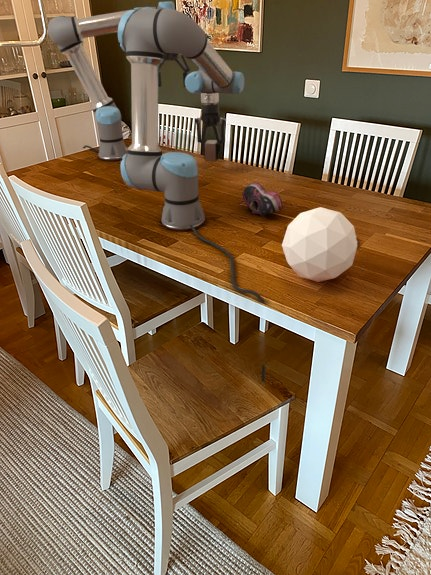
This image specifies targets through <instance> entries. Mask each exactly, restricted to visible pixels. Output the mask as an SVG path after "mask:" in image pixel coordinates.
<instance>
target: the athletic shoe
mask: <svg viewBox="0 0 431 575" xmlns="http://www.w3.org/2000/svg"><path fill="white" fill-rule="evenodd" d="M241 197H242V199H243V201H238V203H239V204H241V205H245V206H246V207H247V208H248V210H249V211H250V210H251V213H252V214H255V215H260V217H266V216H267V215H270V214H274V213H275V212H279V211H282V210H283V209H284V205H283V201H282V198H281V196H280V195H279V194H278V192H277V191H274V190H269V191H267V190H266V189H265V187H264V186H263V185H262V184H261V183H258V182H251V183H249V184H247V186H246V187H245V188H244V190H243V191H242V192H241Z"/></svg>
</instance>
